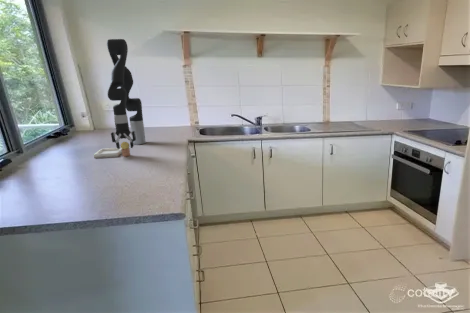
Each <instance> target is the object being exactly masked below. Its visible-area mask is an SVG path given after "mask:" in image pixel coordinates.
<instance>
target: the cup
mask: <svg viewBox="0 0 470 313" xmlns="http://www.w3.org/2000/svg"><path fill="white" fill-rule="evenodd" d="M121 151H122V153H121V155H122V157H123V158H127V157H130V156H131V147H129V148H128V149H121Z"/></svg>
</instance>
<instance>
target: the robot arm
mask: <svg viewBox="0 0 470 313" xmlns="http://www.w3.org/2000/svg"><path fill="white" fill-rule="evenodd" d="M106 46H107V51H108V54H109V56H110V58H111V62H112V64H113V68H112V69H111V74H110V75H111V78H110V79H111V82H110V85H109V87H108V89H107V98H108V99H109V100H110V101H113V102H114V101H115V102H116V101H117V102H118V101H120V103H116V104H114V105H113V107H112V108H113V116H114V117H113V119H114V120H113V121H114V126H115V132H114V131H112V132H111V133H110V135H111V141H112V143H115V146H116V147H115V148H118V149H120V148H121V144H120V140H122V139H124V140H125V139H127V140H128V141H129V142H130V143H129V147H130V149H133V147H134V145H135V146H136V145H144V144H146V143H147V141H146V133H145V124H144V117H143V105H142V100H141V98H140V97H139V98H138V97H134V98H133V97H131V98H130V96H129V95H130V92H131V90H132V87H133V85H134V79H133V75H132V72H131V71H130V69H129V68H128V67H127V66H126V62H127V57H128V52H129V50H128V49H129V48H128V44H127V41H126V40H125V39H124V38H109V39H108V40H107V41H106ZM127 112H136V113H135V114H134V115H131V116H130V117H129V120H128V115H127ZM129 123H130V124H129ZM129 125H130V127H129ZM116 136H117V138H116Z"/></svg>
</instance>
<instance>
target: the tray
mask: <svg viewBox="0 0 470 313" xmlns="http://www.w3.org/2000/svg"><path fill="white" fill-rule="evenodd" d="M121 149H122V148H121V147H120V149H118V148H117V147H109V148H100V149H99V150H98V151H96V152H95V153H94V154H93V158H94V159H103V158H118V157H119V156H120V155H122V151H121Z"/></svg>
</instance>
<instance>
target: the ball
mask: <svg viewBox="0 0 470 313" xmlns="http://www.w3.org/2000/svg"><path fill="white" fill-rule="evenodd" d="M120 148H122V149H128V148H130V143H129V142H127V141H123V142H121V144H120Z"/></svg>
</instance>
